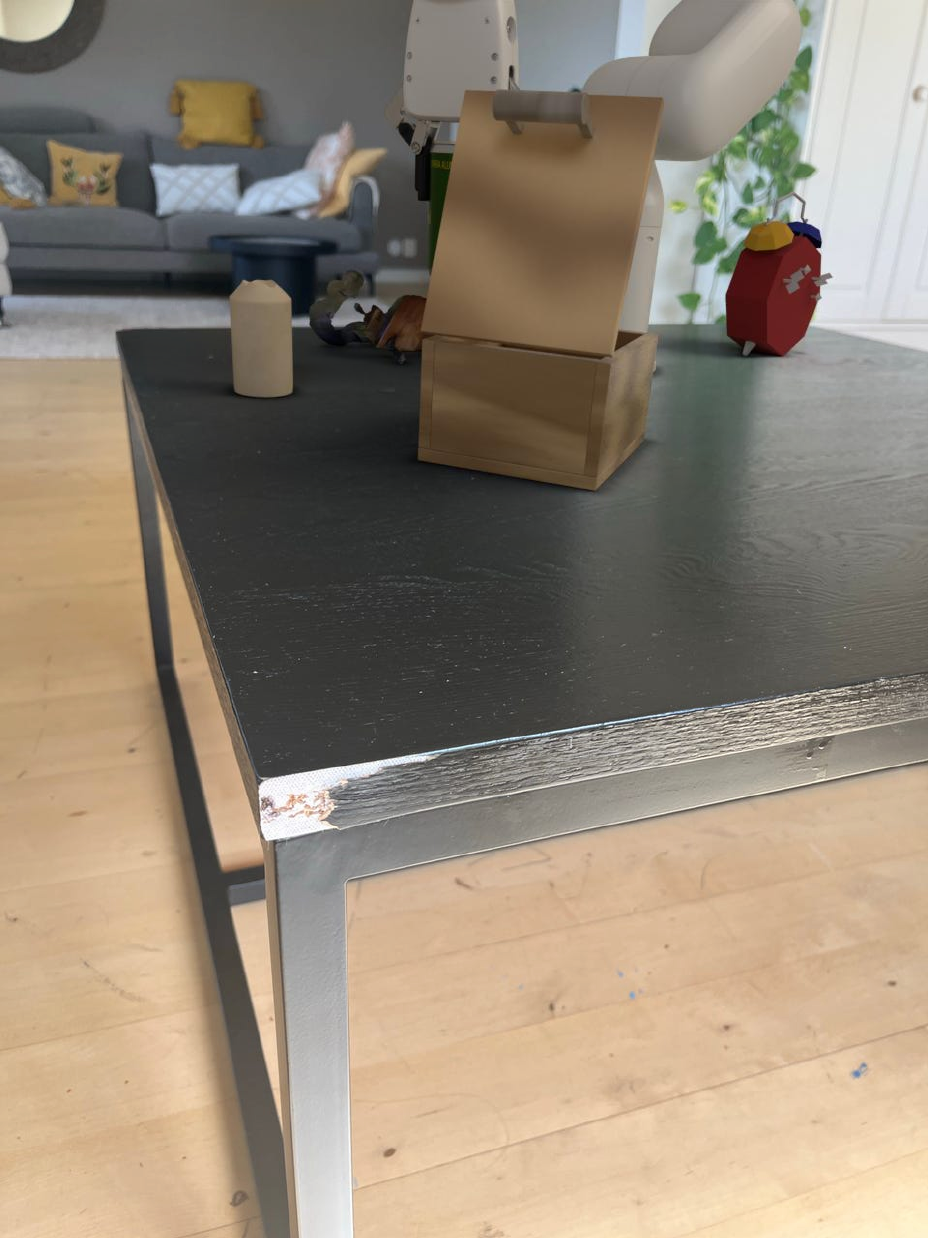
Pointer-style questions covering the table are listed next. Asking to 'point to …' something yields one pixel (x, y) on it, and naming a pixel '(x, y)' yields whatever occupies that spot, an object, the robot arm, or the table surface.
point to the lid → (542, 218)
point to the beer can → (437, 192)
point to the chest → (534, 408)
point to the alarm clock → (775, 285)
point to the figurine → (370, 319)
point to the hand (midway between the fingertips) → (455, 200)
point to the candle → (261, 339)
